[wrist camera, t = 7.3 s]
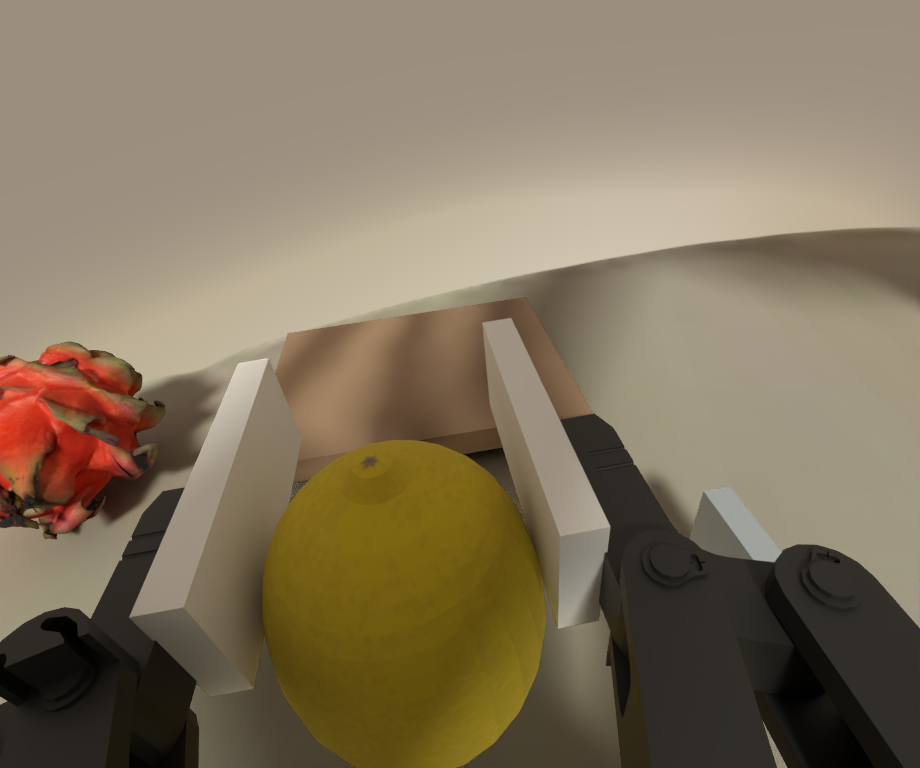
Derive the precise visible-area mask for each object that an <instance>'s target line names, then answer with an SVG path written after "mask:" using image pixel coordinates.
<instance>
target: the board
mask: <svg viewBox="0 0 920 768" xmlns="http://www.w3.org/2000/svg"><path fill="white" fill-rule="evenodd" d="M507 318H511V319H512V321H513V323H514V325H515V327H516V329H517V331H518V333H519V335H520V337H521V340H522V342H523V344H524V346H525V348H526V350H527V352H528V354H529V356H530V358H531V361H532V363H533V365H534V367H535V369H536V371H537V373H538V375H539V377H540V380H541V382H542V384H543V386H544V388H545V390H546V392H547V394H548V396H549V398H550V401H551V403H552V405H553V407H554V409H555V411H556V413H557V415H558V417H559V420H560V419H566V418H572V417H577V416H583V415H589V414H592V410H591V409H590V407H589V405H588V403H587V402H586V400H585V398H584V396H583V395H582V393H581V391H580V390H579V388H578V386H577V384H576V383H575V381H574V379H573V377H572V376H571V374H570V372H569V371H568V369H567V367H566V365H565V364H564V362H563V360H562V359H561V357H560V355H559V353H558V352H557V350H556V348H555V346H554V345H553V343H552V341H551V340H550V338H549V336H548V334H547V333H546V331H545V329H544V327H543V326H542V324H541V322H540V321H539V319H538V317H537V315H536V314H535V312H534V310H533V309H532V307H531V305H530V303H529V302H528V300H527V298H526V297H525V298H518V299H511V300H505V301H498V302H492V303H485V304H478V305H472V306H465V307H459V308H452V309H445V310H439V311H432V312H426V313H419V314H412V315H406V316H399V317H393V318H386V319H379V320H373V321H366V322H360V323H353V324H346V325H340V326H333V327H327V328H320V329H313V330H307V331H300V332H294V333H288V334H287V337H286V341H285V344H284V347H283V350H282V353H281V357H280V360H279V363H278V366H277V369H276V372H275V374H276V377H277V379H278V381H279V384H280V386H281V389H282V391H283V393H284V396H285V398H286V401H287V403H288V405H289V408H290V410H291V413H292V415H293V417H294V420H295V422H296V425H297V427H298V429H299V432H300V434H301V437H302V439H301V444H300V450H299V455H298V460H297V465H296V471H295V476H294V481H293V483H295V482H301V481H307V480H310V479H311V478H312V477H313V476H314V475H315V474H316V473H317V472H319V471H320V470H321V469H323V468H324V467H325V466H327V465H328V464H329V463H331V462H332V461H334V460H335V459H337V458H339V457H341V456H342V455H344V454H346V453H348V452H350V451H352V450H354V449H357V448H360V447H363V446H366V445H369V444H372V443H378V442H384V441H390V440H417V441H423V442H428V443H434V444H439V445H441V446H444V447H446V448H449V449H451V450H454V451H456V452H458V453H461V454H467V453H473V452H479V451H485V450H491V449H497V448H503V446H502V443H501V440H500V436H499V433H498V430H497V426H496V423H495V420H494V417H493V413H492V410H491V407H490V401H489V390H488V379H487V368H486V358H485V347H484V336H483V326H482V323H483V322H489V321H495V320H501V319H507Z"/></svg>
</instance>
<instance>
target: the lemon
mask: <svg viewBox="0 0 920 768" xmlns="http://www.w3.org/2000/svg"><path fill="white" fill-rule="evenodd" d="M262 620H263V627H264V634H265V638H266V643H267V647H268V650H269V653H270V656H271V660H272V663H273V666H274V669H275V673H276V676H277V679H278V682H279V685H280V687H281V690H282V692H283V694H284V696H285V698H286V700H287V701H288V703H289V704H290V705H291V707H292V708H293V710H294V711H295V712H296V714H297V715H298V717H299V718H300V719H301V721H302V722H303V724H304V725H305V726H306V728H307V729H308V731H309V732H310V733H311V734H312V736H313V737H314V738H315V739H316V740H317V741H318V742H319V743H320V744H322V745H323V746H324V747H326V748H327V749H329V750H330V751H331V752H333V753H334V754H336V755H337V756H339V757H340V758H341V759H343V760H344V761H346V762H347V763H348V764H350V765H352V766H353V767H355V768H457V767H460V766H463V765H465V764H467V763H468V762H469V761H471V760H472V759H474V758H475V757H476V756H478V755H479V754H480V753H482V752H483V751H484V750H486V749H487V748H488V747H490V746H491V745H493V744H494V743H495V742H496V741H497V739H498V738H499V737H500V736H501V734H502V733H503V732H504V731H505V729H506V728H507V727H508V726H509V724H510V723H511V722H512V721H513V719H514V718H515V717H516V716H517V714H518V713H519V712H520V710H521V708H522V706H523V704H524V701H525V699H526V697H527V695H528V693H529V690H530V688H531V686H532V684H533V682H534V679H535V677H536V674H537V672H538V668H539V663H540V657H541V651H542V645H543V639H544V633H545V627H546V611H545V601H544V591H543V581H542V574H541V571H540V566H539V561H538V557H537V554H536V551H535V548H534V546H533V543H532V541H531V538H530V536H529V533H528V531H527V528H526V525H525V523H524V521H523V518H522V516H521V514H520V512H519V510H518V508H517V507H516V505H515V503H514V502H513V501H512V499H511V498H510V497H509V496H508V494H507V493H506V492H505V490H504V489H503V488H502V487H501V485H500V484H499V483H498V482H497V480H496V479H495V478H494V477H493V475H491V474H490V473H489V472H488V471H486V470H485V469H484V468H483V467H481V466H480V465H478V464H477V463H476V462H474V461H473V460H471V459H470V458H469V457H467V456H465V455H463V454H461V453H458V452H456V451H454V450H451V449H449V448H446V447H444V446H441V445H439V444H434V443H428V442H423V441H417V440H390V441H384V442H378V443H372V444H369V445H366V446H363V447H360V448H357V449H354V450H352V451H350V452H348V453H346V454H344V455H342V456H341V457H339V458H337V459H335V460H334V461H332V462H331V463H329V464H328V465H327V466H325V467H324V468H323V469H321V470H320V471H319V472H317V473H316V474H315V475H314V476H313V477H312V478H311V479H310V480H309V481H308V482H307V483H306V484H305V485H304V486H303V487H302V488H301V489H300V490H299V491H298V492H297V494H296V495H295V496H294V498H293V499H292V500H291V502H290V503H289V505H288V507H287V508H286V510H285V512H284V513H283V515H282V517H281V518H280V520H279V522H278V523H277V526H276V528H275V531H274V534H273V537H272V540H271V543H270V546H269V549H268V553H267V556H266V559H265V562H264V570H263V587H262Z"/></svg>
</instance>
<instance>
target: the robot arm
mask: <svg viewBox="0 0 920 768" xmlns="http://www.w3.org/2000/svg"><path fill="white" fill-rule="evenodd" d="M482 326H483V336H484V347H485V358H486V368H487V379H488V390H489V401H490V407H491V410H492V413H493V417H494V420H495V423H496V426H497V430H498V433H499V436H500V440H501V443H502V446H503V449H504V453H505V456H506V459H507V463H508V466H509V469H510V472H511V476H512V479H513V482H514V486H515V489H516V492H517V496H518V499H519V502H520V505H521V509H522V512H523V515H524V519H525V522H526V525H527V528H528V532H529V535H530V538H531V541H532V543H533V546H534V548H535V551H536V554H537V557H538V561H539V566H540V571H541V574H542V578H543V581H544V584H545V588H546V591H547V594H548V597H549V601H550V604H551V607H552V611H553V614H554V617H555V620H556V624H557V627H558V628H563V627H568V626H573V625H578V624H583V623H588V622H593V621H599V615H600V607H601V608H602V610H603V613H604V616H605V618H606V621H607V623H608V626H609V628H610V631H611V632H610V638H609V644H608V651H607V660H606V666H611V669H612V678H613V688H614V697H615V707H616V717H617V726H618V736H619V745H620V755H621V765H622V768H777V766H776V763H775V760H774V756H773V753H772V750H771V747H770V744H769V740H768V737H767V734H766V731H765V727H764V724H765V726H766V728H767V730H768V731H769V733H770V735H771V737H772V739H773V741H774V743H775V745H776V747H777V748H778V750H779V752H780V754H781V756H782V758H783V760H784V762H785V764H786V765H787V767H788V768H920V628H919V627H918V626H917V625H916V624H915V623H914V621H913V620H912V619H911V618H910V617H909V616H908V615H907V613H906V612H905V611H904V610H903V609H902V608H901V607H900V605H899V604H898V603H897V602H896V601H895V600H894V599H893V597H892V596H891V595H890V594H889V593H888V592H887V591H886V589H885V588H884V587H883V586H882V585H881V584H880V583H879V581H878V580H877V579H876V578H875V577H874V576H873V575H872V574H871V573H869V572H868V571H867V570H866V569H865V568H864V567H863V566H861V565H860V564H859V563H858V562H857V561H855V560H853V559H851V558H849V557H847V556H846V555H844V554H842V553H840V552H838V551H836V550H832V549H829V548H826V547H822V546H819V545H795V546H792V547H790V548H787V549H785V550H783V551H782V553H781V554H780V555H779V557H778V558H777V559H776V561H775V562H768V561H759V560H750V559H741V558H732V557H726V556H721V555H716V554H713V553H710V552H708V551H705V550H703V549H701V548H700V547H699V546H698V545H697V544H696V543H695V542H694V541H692V540H690V539H688V538H686V537H684V536H682V535H680V534H679V533H678V532H677V530H676V529H675V528H674V527H673V525H672V524H671V523H670V521H669V519H668V518H667V516H666V514H665V513H664V511H663V510H662V508H661V506H660V505H659V503H658V501H657V500H656V498H655V496H654V495H653V493H652V491H651V490H650V488H649V486H648V485H647V483H646V481H645V480H644V478H643V476H642V475H641V473H640V471H639V470H638V468H637V466H636V465H634V463H633V460H632V458H631V456H630V455H629V453H628V451H627V450H625V449H624V445H623V443H622V442H621V440H620V438H619V437H618V435H617V433H616V432H615V430H614V428H613V427H612V426H610V425H609V424H608V423H606V422H605V421H604V420H602V419H601V418H600V417H598V416H597V415H596V414H589V415H583V416H577V417H572V418H566V419H560V420H559V417H558V415H557V413H556V411H555V409H554V407H553V405H552V403H551V401H550V398H549V396H548V394H547V392H546V390H545V388H544V386H543V384H542V382H541V380H540V377H539V375H538V373H537V371H536V369H535V367H534V365H533V363H532V361H531V358H530V356H529V354H528V352H527V350H526V348H525V346H524V344H523V342H522V340H521V337H520V335H519V333H518V331H517V329H516V327H515V325H514V323H513V321H512V319H511V318H507V319H501V320H495V321H489V322H483V323H482ZM301 439H302V437H301V434H300V432H299V429H298V427H297V425H296V422H295V420H294V417H293V415H292V413H291V410H290V408H289V405H288V403H287V401H286V398H285V396H284V393H283V391H282V389H281V386H280V384H279V381H278V379H277V377H276V374H275V372H274V369H273V367H272V365H271V362H270V360H269V358H266V359H260V360H254V361H248V362H242V363H238V365H237V368H236V370H235V372H234V375H233V377H232V379H231V381H230V384H229V386H228V388H227V391H226V393H225V395H224V398H223V400H222V402H221V405H220V407H219V409H218V412H217V414H216V416H215V419H214V421H213V423H212V426H211V428H210V430H209V433H208V435H207V437H206V440H205V442H204V444H203V447H202V449H201V451H200V454H199V456H198V458H197V461H196V463H195V465H194V468H193V470H192V472H191V475H190V477H189V479H188V482H187V484H186V486H185V487H184V488H179V489H173V490H168V491H163V492H162V493H161V494H160V495H159V496H158V497H157V499H156V500H155V501H154V502H153V503H152V504H151V505H150V506H149V507H148V508H147V509H146V510H145V512H144V513H143V514H142V516H141V518H140V520H139V522H138V524H137V526H136V528H135V530H134V532H133V534H132V536H131V537H132V541H129V542H128V544H127V547H126V549H125V551H124V553H123V555H122V558H123V559H122V561H119V563H118V565H117V567H116V569H115V571H114V573H113V575H112V577H111V579H110V581H109V583H108V585H107V587H106V589H105V591H104V593H103V595H102V597H101V599H100V601H99V603H98V605H97V607H96V609H95V611H94V613H93V615H92V617H91V619H90V618H88V617H87V616H86V615H85V614H84V613H83V612H82V611H81V610H79V609H73V608H66V607H64V608H60V609H56V610H52V611H48V612H45V613H43V614H41V615H39V616H37V617H35V618H33V619H31V620H29V621H27V622H25V623H24V624H22V625H21V626H20V627H19V628H17V629H16V630H15V631H13V632H12V633H11V634H10V635H8V636H7V637H6V638H4V639H3V640H2V641H1V642H0V697H2V698H4V699H5V700H7V702H5V703H3V704H1V705H0V768H198V759H199V726H198V721H197V717H196V714H195V713H194V712H193V711H192V710H191V709H190V708H189V707H190V704H191V700H192V696H193V693H194V689H195V686H196V684H197V685H198V686H199V687H200V688H201V689H202V690H203V691H204V692H205V693H206V694H207V695H208V696H209V697H214V696H219V695H224V694H229V693H234V692H239V691H244V690H249V689H254V686H255V680H256V675H257V670H258V665H259V659H260V654H261V649H262V644H263V638H264V627H263V620H262V587H263V570H264V562H265V559H266V556H267V553H268V549H269V546H270V543H271V540H272V537H273V534H274V531H275V528H276V526H277V523H278V522H279V520H280V518H281V517H282V515H283V513H284V512H285V510H286V508H287V507H288V505H289V502H290V497H291V492H292V486H293V481H294V476H295V471H296V465H297V460H298V455H299V450H300V444H301ZM762 720H763V721H762ZM763 722H764V724H763Z"/></svg>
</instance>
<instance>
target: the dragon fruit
mask: <svg viewBox="0 0 920 768" xmlns="http://www.w3.org/2000/svg"><path fill="white" fill-rule="evenodd" d="M141 387H142V375H141V374H140V373H138V372H136V371H135V369H134V368H133V367H132V366H131V365H130V364H129V363H127V362H125V361H124V360H122V359H119V358H116V357H115V356H114V355H113V354H111V353H108V352H105V351H99V350H90V351H88V350H87V349H86V348H85V347H83V346H82V345H80V344H78V343H74V342H64V343H60V344H56V345H52V346H50V347H48V348H47V349H46V351H45V352H44V353H42V355H41V357H40V359H39V360H37V361H33V362H26V361H24V360H22V359H20V358H16V357H15V356H12V355H8V356H4V357H1V358H0V527H1V528H7V527H20V526H21V527H30V528H35V529H39V526H41V527H42V528H43V531H44V532H43V536H44V538H45V539H48V538H51V539H57V537H56V536H57V534H66V533H68V532H69V531H71V530H72V529H73V528H74V527H75V526H77V525H79V526H80V525H81V524H80V522H81V521H83V520H84V522H85V521H86V520H87V519H90V518H93V517H95V516H96V515H97V514H98V512H99V510H100V509H101V508H102V507H104V506H103V505H104V502H105V498H106V496H107V495H105V496H104V497H103V499H102V501H101V502H99V503H100V504H99V505H98V506H97V508H95V504H96V503H98V502H97V500H94V501H93V502H92V503H91V504H90V505H89V503H90V502H91V499H92V498H94V497H95V496H96V495H97V494H98V493H99V492H100V491H101V490H102V489H103V488H104V486H105V485H106V484H107V483H108V482H109V481H110V479H111V478H112V477H113V476H115V477H118V478H121V479H126V480H136V479H137V478H139V477H140V476H141V475H142V474H143V473H144V472H146V471H148V470H149V469H150V468H151V467H152V466H153V465H154V463H155V460H156V456H157V453H158V451H159V447H160V446H159V443H149V444H146V445H143V446H142V447H141V446H140V445H139V444H138V441H137V438H136V433H137V432H140V431H142V430H146V429H150V428H152V427H154V426H155V425H157V424H158V423H159V422H160V421H161V419H162V418H163V416H164V414H165V405H164V403H163V402H161V401H154V403H155V405H156V406H154V405H149V404H147V401H144V400H143V399H142V398H139V400H138V399H137V400H136V399H135V398H133V396H134V394H135V393H137V392H138V391H139V390H140V389H141ZM88 505H89V506H88ZM87 506H88V507H87ZM33 518H39V522H40V523H39V524H38V522H36V521H33V520H31V519H33ZM85 518H86V520H85ZM84 522H83V523H84ZM38 525H39V526H38Z"/></svg>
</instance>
